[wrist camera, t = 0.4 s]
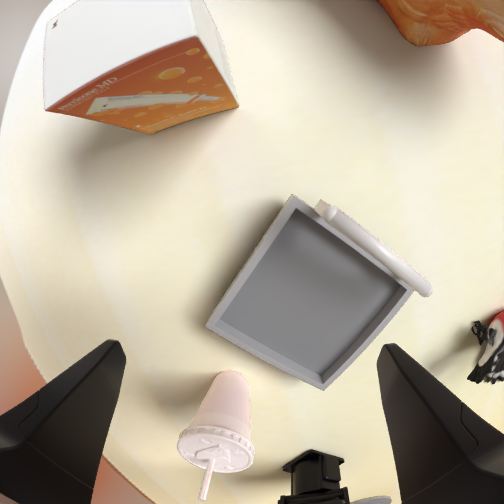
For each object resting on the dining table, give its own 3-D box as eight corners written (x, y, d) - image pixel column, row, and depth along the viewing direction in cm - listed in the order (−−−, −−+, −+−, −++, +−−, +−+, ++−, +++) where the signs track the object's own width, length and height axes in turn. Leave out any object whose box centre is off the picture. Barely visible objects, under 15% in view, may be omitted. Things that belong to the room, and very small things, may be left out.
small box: (150, 136, 21) (40, 114, 9) (139, 74, 20) (43, 21, 7) (242, 108, 20) (199, 34, 8) (226, 44, 19) (179, -52, 6)
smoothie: (194, 389, 28) (154, 493, 15) (214, 351, 26) (171, 468, 13) (247, 410, 28) (229, 517, 15) (273, 375, 26) (264, 496, 13)
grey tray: (319, 367, 26) (328, 425, 18) (214, 307, 25) (189, 357, 17) (406, 264, 22) (450, 300, 15) (297, 182, 21) (307, 186, 14)
